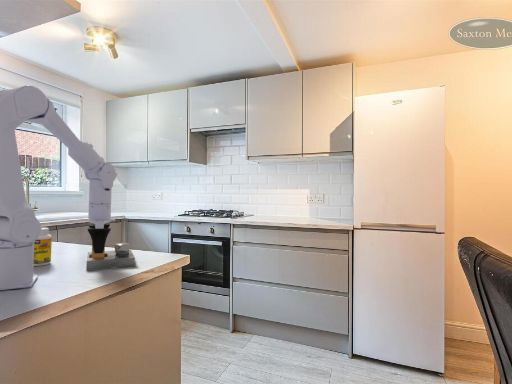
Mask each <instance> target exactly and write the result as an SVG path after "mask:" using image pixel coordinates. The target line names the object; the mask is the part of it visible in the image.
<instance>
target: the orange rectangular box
mask: <svg viewBox="0 0 512 384" xmlns="http://www.w3.org/2000/svg"><path fill="white" fill-rule="evenodd" d="M105 248H106V246H105V247H104V251H103V253H97V254H95V253H94V250H93V244H92V243H91V252H92V258H97V257H104V254H105V251H106V250H105Z"/></svg>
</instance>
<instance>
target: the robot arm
mask: <svg viewBox="0 0 512 384" xmlns="http://www.w3.org/2000/svg"><path fill="white" fill-rule="evenodd" d="M25 122H29V123H32V124H37V125H41V126H43V127H44V128H45V129H46V130H48V131H49V132H50V134H52V135H53V136H54V138H56V139H57V140H59V141H60V143H62V144H63V145H64V146H66V147H67V148H68V150H67V154H68V156H69V157H70V158H71V159H72V160H73V161H74V162H75V163H76V164H77V166H79V167H80V168H81V169H82V171H83V172H84V177H85V178H86V179H87V180H88V181H89V189H88V191H89V192H88V218H87V222H88V223H89V225H88V228H87V232H88V233H89V236H90V238H91V245H92V244H93V250H94V253H95V254H97V253H103V251H104V247H105V248H106V242H107V238H108V235H109V233H110V232H111V227H110V225H111V224H110V223H111V222H115V221H116V219H115V218H114V217H113V218H112V217H111V216H112V189H113V187H114V181H116V178H117V176H118V173H117V172H116V169H115V167H114V166H113V165H112V164H111V163H108V162H106V161H105V159H104V158H103V157H102V156H101V155H99V154H98V152H97V151H96V150H95V149H94V145H93V144H92V143H89V142H87V141H86V140H85V141H83V140H80V139H79V138H78V137H77V136H76V134H75V133H74V132H73V130H72V129H71V128H70V127H69V126H68V124H67V123H66V122H65V121H64V119H63V118H62V117H61V115H60V114H59V113H58V112H57V111H56V109H55V105H54V104H53V102H52V101H51V100H50V98H48V97H47V96H46V94H45V93H44V92H43V91H42V90H41V89H40V88H38V87H37V86H34V85H29V84H27V85H22V86H20V87H16V88H9V89H1V90H0V291H6V290H14V289H23V288H24V289H26V288H31V287H32V286H33V285H34V283H35V282H36V280H37V279H38V276H39V275H34V266H33V261H34V243H35V240H36V239H37V238H38V237H39V236H40V233H41V228H42V224H41V222H40V221H39V219H37V217H36V213H35V210H34V208H33V207H32V205H30V204H29V203H28V201H27V199H26V191H25V186H24V181H23V175H22V174H23V173H22V168H21V167H22V166H21V162H20V161H21V160H20V155H19V150H18V149H19V148H18V144H17V137H16V129H17V128H18V127H20V126H21V125H22V124H24V123H25ZM109 227H110V228H109Z"/></svg>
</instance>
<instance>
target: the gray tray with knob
mask: <svg viewBox="0 0 512 384" xmlns="http://www.w3.org/2000/svg"><path fill="white" fill-rule="evenodd" d="M135 259H136V258H135V255H134V253H133V251H132V249H130V243H129V242H120V243H115V244H114V250H105V254H104V257H97V258H92V251H89V252H87V256H86V263H85V264H86V266H85V267H86V270H85V271H97V270H107V269H108V270H109V269H117V268H120V269H121V268H131V267H135V263H136V260H135Z"/></svg>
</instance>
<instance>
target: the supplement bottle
mask: <svg viewBox="0 0 512 384" xmlns="http://www.w3.org/2000/svg"><path fill="white" fill-rule="evenodd" d="M52 242H53V237H52V234H50V228H49V227H41V233H40V236H39V237H38V238H37V239H36V240H35V243H34V261H33V267H40V266H46V265H49V264H50V263H51V262H52V245H53V244H52Z"/></svg>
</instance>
